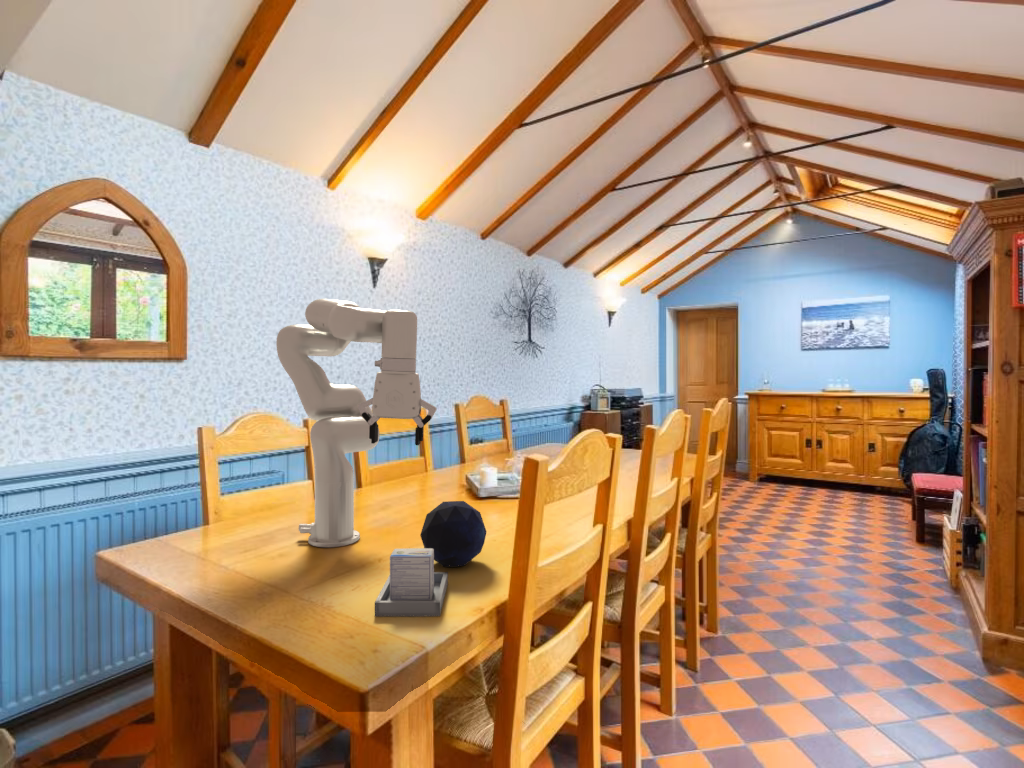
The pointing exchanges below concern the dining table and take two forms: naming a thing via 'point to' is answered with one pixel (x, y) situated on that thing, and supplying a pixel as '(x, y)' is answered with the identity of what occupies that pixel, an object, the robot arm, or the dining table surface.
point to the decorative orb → (454, 533)
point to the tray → (413, 606)
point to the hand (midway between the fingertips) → (396, 443)
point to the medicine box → (412, 574)
